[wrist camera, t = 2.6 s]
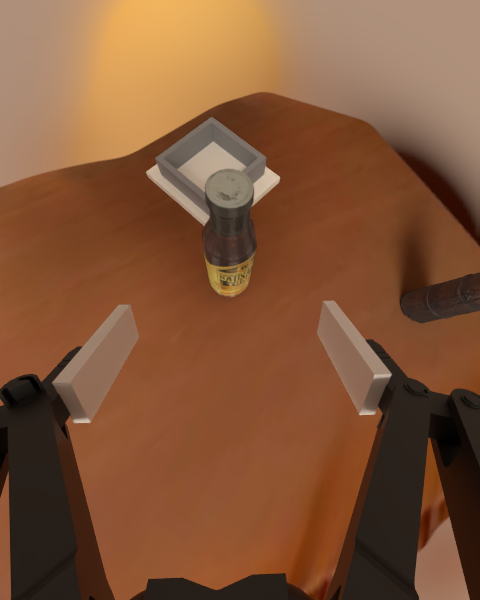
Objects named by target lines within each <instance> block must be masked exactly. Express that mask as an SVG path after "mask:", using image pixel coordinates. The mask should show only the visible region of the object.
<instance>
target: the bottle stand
mask: <svg viewBox="0 0 480 600" xmlns="http://www.w3.org/2000/svg"><path fill="white" fill-rule="evenodd" d="M266 159H267V157H265V156H264V155H263V154H261V153H260V152H259V151H257V150H256V149H255V148H253V147H252V146H250V145H249V144H248V143H246V142H245V141H244V140H242V139H241V138H240V137H238V136H237V135H236V134H234V133H233V132H232V131H230V130H229V129H228V128H226V127H225V126H224V125H222V124H221V123H220V122H218V121H217V120H215V119H214V118H213V117H210V118H209V119H208V120H206V121H205V122H204V123H202V124H201V125H200V126H198V127H197V128H195V129H194V130H193V131H191V132H190V133H189V134H187V135H186V136H185V137H183V138H182V139H181V140H179V141H178V142H176V143H175V144H174V145H172V146H171V147H170V148H168V149H167V150H166V151H164V152H163V153H162V154H160V155H159V156H157V157H156V158H155V160H156V162H157V164H156V165H155V166H153V167H152V168H151V169H149V170H148V171H147V172H146V174H147V176H148V178H150V179H151V180H152V181H153V182H154V183H155V184H156V185H158V186H159V187H160V188H161V189H162V190H163V191H164V192H166V193H167V194H168V195H169V196H170V197H171V198H173V199H174V200H175V201H176V202H177V203H178V204H179V205H181V206H182V207H183V208H184V209H185V210H186V211H187V212H189V213H190V214H191V215H192V216H193V217H194V218H195V219H197V220H198V221H199V222H200V223H201V224H202V225H203V226H205V224H206V222H207V221H208V220H209V218H210V217H209V216H210V210H209V208H208V206H207V204H206V201H205V185H206V181H207V180H208V178H209V177H210V176H211V175H212V174H214V173H215V172H217V171H219V170H223V169H235V170H239V171H241V172H243V173H245V174H246V175H247V176H248V177H249V178H250V179H251V181H252V182H253V186H254V201H253V204H252V206H253V205H255V204H256V203H257V202H258V201H259V200H260V199H261V198H262V197H263V196H265V195H266V194H267V193H268V192H269V191H270V190H271V189H272V188H273V187H275V186H276V185H277V184H278V183H279V180H280V177H279V176H278V175H276V174H275V173H274V172H272V171H271V170H270V169H268V168H267V167H266Z"/></svg>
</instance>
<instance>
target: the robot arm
mask: <svg viewBox="0 0 480 600" xmlns="http://www.w3.org/2000/svg"><path fill="white" fill-rule="evenodd" d="M317 334H318V336H319V338H320V340H321V342H322V344H323V346H324V348H325V350H326V352H327V354H328V355H329V357H330V359H331V361H332V363H333V365H334V367H335V369H336V371H337V373H338V375H339V377H340V379H341V380H342V382H343V384H344V386H345V388H346V390H347V392H348V394H349V396H350V398H351V400H352V402H353V403H354V405H355V407H356V409H357V411H358V413H359V415H373V414H375V413H376V410H377V408H378V407H379V408H380V410H381V411H382V413H383V414H382V417H381V419H380V421H379V423H378V426H377V428H378V429H377V433H376V436H375V440H374V443H373V446H372V450H371V453H370V456H369V460H368V463H367V467H366V470H365V473H364V477H363V480H362V483H361V487H360V490H359V494H358V497H357V500H356V504H355V507H354V510H353V514H352V517H351V521H350V524H349V527H348V531H347V534H346V537H345V541H344V544H343V547H342V551H341V554H340V558H339V561H338V564H337V568H336V571H335V573H334V576H333V579H332V581H331V584H330V587H329V590H328V593H327V596H326V599H325V600H419V596H418V594H417V592H416V590H415V585H414V578H415V568H416V557H417V547H418V537H419V527H420V517H421V506H422V496H423V486H424V476H425V465H426V455H427V445H428V437H429V438H430V439H431V443H432V447H433V451H434V455H435V460H436V464H437V468H438V472H439V476H440V480H441V484H442V488H443V492H444V496H445V500H446V504H447V508H448V512H449V516H450V520H451V524H452V528H453V532H454V537H455V541H456V545H457V548H458V553H459V557H460V561H461V565H462V569H463V573H464V576H465V581H466V585H467V589H468V593H469V597H470V600H480V396H479V395H478V394H476V393H474V392H471V391H469V390H466V389H454V390H453V391H452V392H451V394H450V395H445V394H441V393H436V392H432V391H430V390H429V389H428V387H426V386H425V385H424V384H423V383H421V382H419V381H417V380H414V379H411V378H408V377H407V376H406V375H405V374H404V372H403V371H402V370H401V369H400V368H399V366H398V365H397V364H396V363H395V362H394V361H393V359H391V357H390V356H389V355H388V354H387V353H386V351H385V350H384V349H383V348H382V347H381V345H379V344H378V343H376V342H375V341H373V340H365V339H364V338H363V337H362V336H361V334H360V333H359V332H358V330H357V329H356V328H355V327H354V325H353V324H352V323H351V322H350V320H349V319H348V318H347V316H346V315H345V314H344V313H343V311H342V310H341V309H340V308H339V306H338V305H337V304H336V302H335V301H323V305H322V310H321V315H320V320H319V326H318V331H317ZM138 338H139V335H138V332H137V328H136V324H135V321H134V317H133V313H132V309H131V306H130V305H118V306H117V308H116V309H115V310H114V311H113V312H112V313H111V315H110V316H109V317H108V318H107V319H106V320H105V322H104V323H103V324H102V325H101V326H100V327H99V329H98V330H97V331H96V332H95V333H94V334H93V336H92V337H91V338H90V339H89V340H88V341H87V342H86V344H85V345H84V346H82V347H76V348H75V349H74V350H72V351H71V352H69V353H68V354H67V355H66V356H65V357H64V358H63V359H62V361H61V362H60V363H59V364H58V365H57V367H55V368H54V369H53V370H52V372H51V373H50V374H49V375H48V376H47V377H46V378H45V379H44V380H43V381H42V383H41V381H40V379H39V378H38V376H37V375H34V374H27V375H23V376H20V377H17V378H15V379H13V380H11V381H9V382H8V383H6V384H5V385H4V386H3V387H2V388H1V389H0V399H1V400H2V402H3V403H4V404H5V405H3V406H0V497H1V493H2V490H3V487H4V483H5V480H6V477H7V473H8V470H9V510H10V559H11V600H115V599H114V596H113V593H112V591H111V589H110V586H109V584H108V581H107V579H106V575H105V572H104V568H103V564H102V560H101V556H100V552H99V548H98V544H97V540H96V536H95V533H94V529H93V525H92V521H91V517H90V513H89V509H88V505H87V501H86V497H85V493H84V490H83V486H82V482H81V478H80V474H79V470H78V466H77V462H76V458H75V454H74V451H73V447H72V443H71V439H70V435H69V431H68V427H67V425H66V424H65V422H66V421H67V419H68V418H69V416H71V418H72V420H73V421H74V423H91V421H92V419H93V417H94V416H95V414H96V412H97V410H98V409H99V407H100V405H101V403H102V402H103V400H104V398H105V396H106V395H107V393H108V391H109V389H110V388H111V386H112V384H113V382H114V380H115V379H116V377H117V375H118V373H119V372H120V370H121V368H122V366H123V365H124V363H125V361H126V359H127V358H128V356H129V354H130V352H131V351H132V349H133V347H134V345H135V343H136V342H137V340H138ZM130 600H313V599H312V598H311V597H310V596H309V595H307V594H306V593H305V592H303V591H302V590H301V589H299V588H297V587H295V586H294V585H291V584H289V583H287V581H286V574H285V573H282V574H259V575H251V576H248V577H246V578H244V579H242V580H240V581H237V582H235V583H233V584H231V585H229V586H227V587H224V588H222V589H220V590H213V589H210V588H208V587H205V586H202V585H200V584H197V583H195V582H192V581H189V580H187V579H184V578H164V579H148V583H147V588H146V590H144V591H142V592H140V593H139V594H137V595H136V596H134V597H133V598H131V599H130Z"/></svg>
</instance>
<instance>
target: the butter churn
mask: <svg viewBox="0 0 480 600" xmlns="http://www.w3.org/2000/svg"><path fill="white" fill-rule="evenodd" d="M401 308H402V310H403V313H404V315H408V317H409V318H410V319H412V320H414V321H415V320H416V321H418V322H420V323H426V322H429V321H434V320H438V319H443V318H451V317H453V316H456V315H461V314H467V313H471V312H476V311H480V273H476V274H469V275H466V276H464V277H461V278H457V279H454V280H450V281H447V282H443V283H440V284H435V285H431V286H428V287H424V288H420V289H417V290H414V291H411V292H409V293H407V294H405V295H404V297H403V298H402V299H401Z"/></svg>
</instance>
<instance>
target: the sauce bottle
mask: <svg viewBox="0 0 480 600" xmlns="http://www.w3.org/2000/svg"><path fill="white" fill-rule="evenodd" d="M205 201H206V204H207V206H208V208H209V210H210V216H209V217H210V218H209V220H208V221H207V222H206V224H205V226H204V229H203V232H202V241H203V251H204V256H205V261H206V266H207V271H208V276H209V281H210V284H211V286H212V288H213V290H214V291H215V292H216V293H217V294H219V295H220V296H223V297H227V298H228V297H236V296H238V295H240V294H241V293H242V292H243V291H244V290H245V289H246V287H247V286H248V284H249V280H250V275H251V271H252V266H253V262H254V257H255V252H256V246H257V244H256V238H255V231H254V224H253V220H252V219H251V218H250V215H249V214H250V209H251V207H252V204H253V201H254V186H253V182H252V181H251V179H250V178H249V177H248V176H247V175H246V174H245V173H243V172H241V171H239V170H235V169H223V170H219V171H217V172H215V173H214V174H212V175H211V176H210V177H209V178H208V180H207V181H206V185H205Z"/></svg>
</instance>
